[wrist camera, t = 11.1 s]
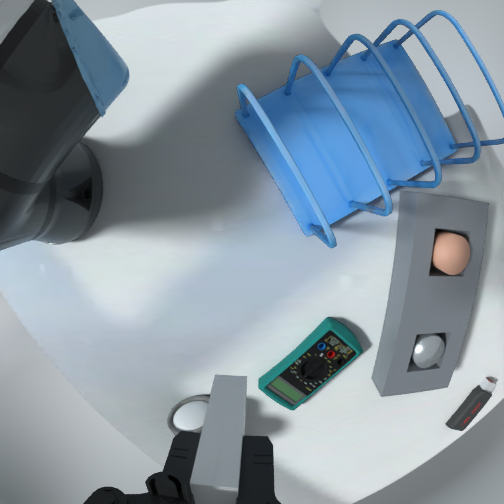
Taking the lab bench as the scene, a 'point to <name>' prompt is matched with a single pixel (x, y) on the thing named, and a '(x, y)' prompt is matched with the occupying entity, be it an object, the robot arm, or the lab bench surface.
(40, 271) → the lab bench surface
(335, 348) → the digital multimeter
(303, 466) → the lab bench surface
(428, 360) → the steel plunger
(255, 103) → the file sorter
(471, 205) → the block
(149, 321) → the lab bench surface
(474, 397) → the usb drive
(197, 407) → the pipe fitting
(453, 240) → the peach rounded dome part
